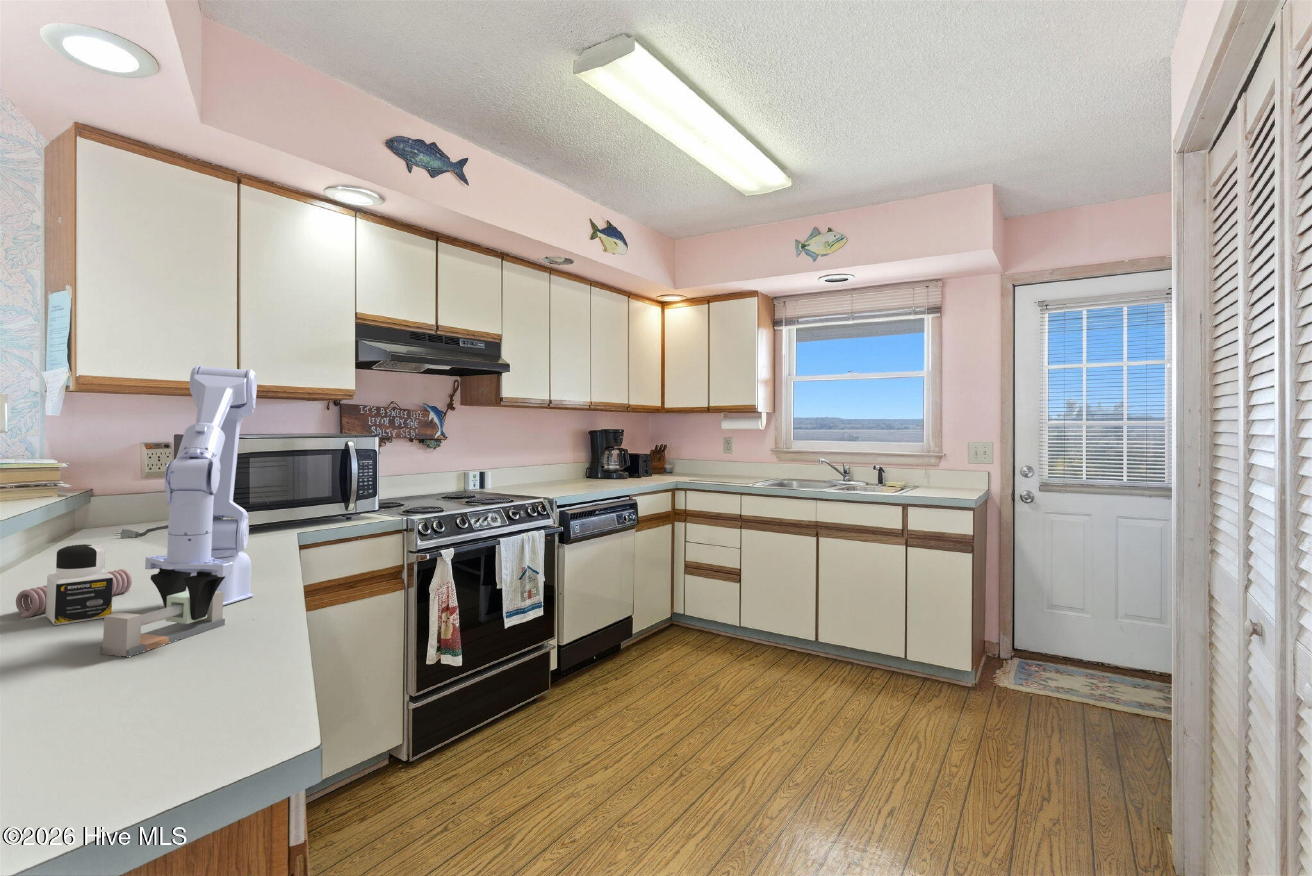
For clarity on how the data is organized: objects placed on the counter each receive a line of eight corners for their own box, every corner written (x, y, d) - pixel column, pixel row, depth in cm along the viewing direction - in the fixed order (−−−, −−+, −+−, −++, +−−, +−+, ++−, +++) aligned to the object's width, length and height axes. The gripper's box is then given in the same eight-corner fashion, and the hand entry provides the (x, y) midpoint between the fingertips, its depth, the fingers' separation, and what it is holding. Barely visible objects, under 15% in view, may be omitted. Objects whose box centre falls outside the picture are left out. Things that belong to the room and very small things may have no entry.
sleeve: (186, 615, 102) (187, 590, 102) (206, 617, 102) (208, 593, 102) (165, 621, 99) (166, 596, 99) (187, 623, 98) (188, 598, 98)
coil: (34, 593, 103) (138, 570, 121) (10, 588, 103) (117, 566, 121) (31, 621, 103) (135, 594, 121) (7, 616, 104) (114, 589, 121)
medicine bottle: (54, 626, 100) (57, 551, 100) (45, 616, 104) (48, 545, 104) (111, 617, 106) (115, 546, 106) (101, 608, 110) (104, 540, 110)
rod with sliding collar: (199, 621, 105) (200, 589, 105) (224, 624, 105) (226, 592, 105) (99, 653, 90) (101, 615, 90) (128, 657, 89) (130, 619, 89)
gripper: (127, 532, 98) (123, 619, 98) (207, 540, 95) (203, 628, 95) (170, 526, 105) (166, 607, 105) (245, 533, 102) (241, 615, 102)
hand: (186, 616), depth 100 cm, fingers closed on sleeve, 4 cm apart
